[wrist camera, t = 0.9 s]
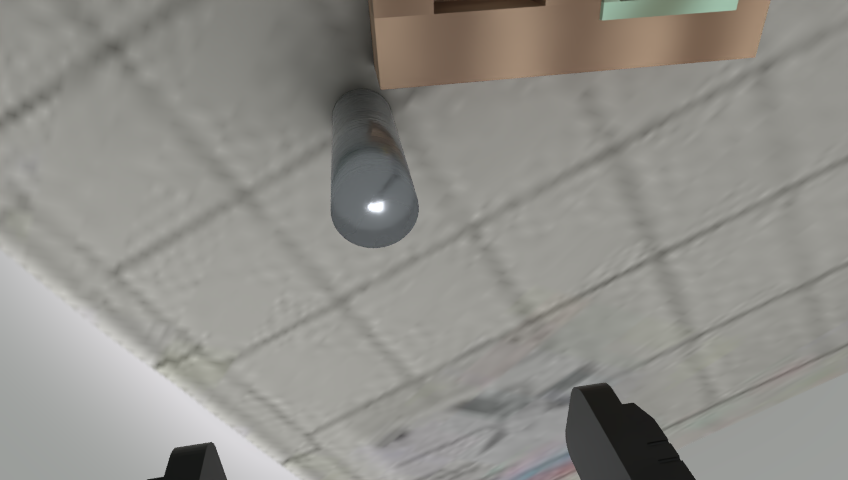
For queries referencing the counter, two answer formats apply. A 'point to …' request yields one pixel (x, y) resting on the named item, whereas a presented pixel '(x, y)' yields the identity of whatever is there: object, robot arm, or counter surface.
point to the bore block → (552, 37)
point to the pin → (369, 173)
